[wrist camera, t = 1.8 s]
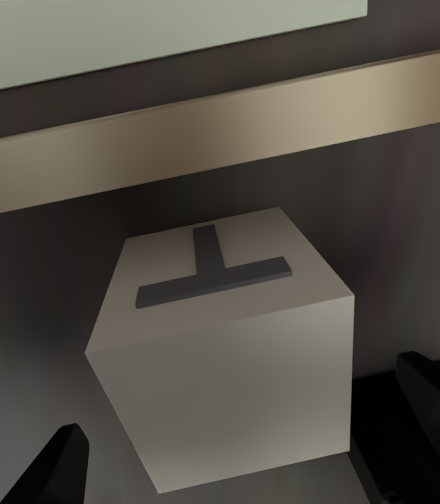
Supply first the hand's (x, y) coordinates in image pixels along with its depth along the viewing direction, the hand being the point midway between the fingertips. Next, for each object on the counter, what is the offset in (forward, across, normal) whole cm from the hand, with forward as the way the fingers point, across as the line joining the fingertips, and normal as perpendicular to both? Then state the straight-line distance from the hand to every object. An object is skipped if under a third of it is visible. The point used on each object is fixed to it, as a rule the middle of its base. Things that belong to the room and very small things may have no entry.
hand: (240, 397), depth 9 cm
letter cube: (+6, 0, 0) cm, 6 cm away
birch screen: (+5, 0, -7) cm, 9 cm away
